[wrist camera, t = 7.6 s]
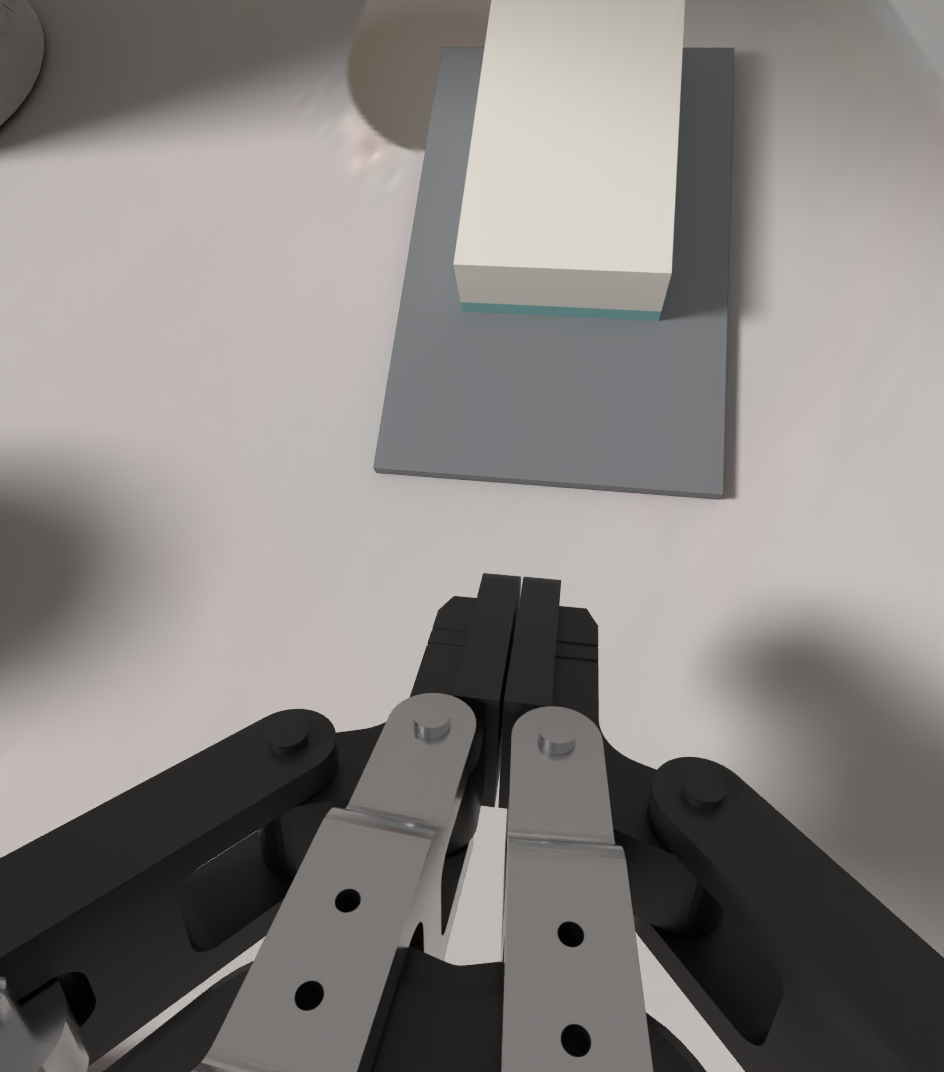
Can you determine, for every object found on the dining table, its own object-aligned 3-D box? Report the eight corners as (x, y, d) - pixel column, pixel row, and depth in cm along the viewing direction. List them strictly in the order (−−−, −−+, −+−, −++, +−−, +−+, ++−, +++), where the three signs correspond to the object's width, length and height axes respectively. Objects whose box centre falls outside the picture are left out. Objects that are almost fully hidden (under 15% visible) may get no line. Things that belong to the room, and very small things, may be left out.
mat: (376, 472, 22) (373, 467, 21) (443, 57, 26) (442, 46, 26) (719, 499, 21) (723, 494, 20) (730, 58, 25) (733, 47, 24)
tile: (453, 264, 20) (492, -5, 23) (462, 311, 23) (496, 60, 25) (671, 273, 20) (685, -6, 22) (658, 321, 22) (672, 61, 24)
